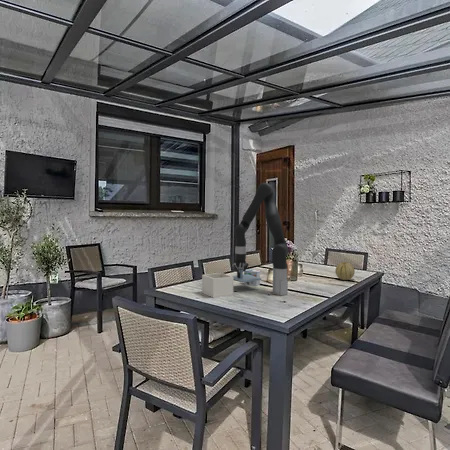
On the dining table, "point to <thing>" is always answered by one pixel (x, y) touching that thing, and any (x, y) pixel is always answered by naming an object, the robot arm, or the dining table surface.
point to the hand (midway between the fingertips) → (239, 277)
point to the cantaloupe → (344, 271)
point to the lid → (245, 277)
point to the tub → (217, 285)
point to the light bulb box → (253, 273)
